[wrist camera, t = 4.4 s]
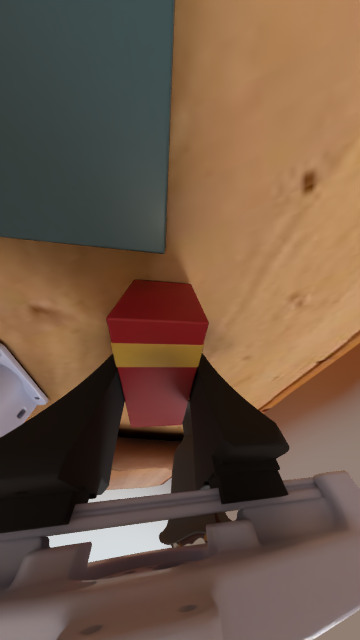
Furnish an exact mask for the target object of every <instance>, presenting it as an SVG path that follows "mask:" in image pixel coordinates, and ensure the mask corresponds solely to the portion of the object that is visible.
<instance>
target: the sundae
mask: <svg viewBox="0 0 360 640" xmlns="http://www.w3.org/2000/svg"><path fill="white" fill-rule="evenodd" d="M182 424H183V430H184V438H183V440H182V442H181V443H180V444H179V446H178V447H177V449H176V451H175V453H174V459H173V468H172V485H171V493H179V492H188V491H196V482H195V466H194V449H193V435H192V423H191V411H190V401H188V403H187V407H186V411H185V415H184V419H183V422H182ZM228 521H232V520H230V519H229V518H228V517H227V515H226V513H225V512H219V513H212V514H205V515H198V516H190V517H183V518H176V519H169V520H168V524H167V526H166V528H165V529H164V531H163V532H161V533H160V535H159V539H160V542H162V543H164V544H167V545H171V546H172V548H174V547H182V546H189V545H197V544H204V543H208V541H207V533H206V526H207V525H208V524H215V523H221V522H228Z"/></svg>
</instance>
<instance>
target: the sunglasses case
mask: <svg viewBox="0 0 360 640" xmlns="http://www.w3.org/2000/svg"><path fill="white" fill-rule="evenodd" d="M181 442H182V441H173V442H170V441H164V440H146V439H140V438H122V437H117V441H116V447H115V452H114V457H113V463H112V469H111V470H115V471H130V470H133V469H147V468H167V469H172V468H173V459H174V453H175V451H176V449H177V447H178V446H179V444H180V443H181Z"/></svg>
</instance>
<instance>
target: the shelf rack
mask: <svg viewBox="0 0 360 640" xmlns="http://www.w3.org/2000/svg"><path fill="white" fill-rule="evenodd" d="M174 12H175V0H0V237H7V238H16V239H26V240H35V241H45V242H54V243H64V244H74V245H83V246H93V247H102V248H112V249H121V250H131V251H141V252H150V253H160V254H164V253H165V248H166V225H167V192H168V167H169V141H170V115H171V89H172V64H173V38H174Z"/></svg>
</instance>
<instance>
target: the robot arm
mask: <svg viewBox="0 0 360 640" xmlns="http://www.w3.org/2000/svg"><path fill="white" fill-rule="evenodd" d="M48 401H49V400H48V398H47V397H46V396H45V395H44V393H43V392H42V391H41V390H40V389H39V387H38V386H37V385H36V384H35V382H34V381H33V380H32V379H31V378H30V376H29V375H28V374H27V373H26V371H25V370H24V369H23V368H22V367H21V365H20V364H19V363H18V362H17V360H16V359H15V358H14V357H13V356H12V354H11V353H10V352H9V351H8V349H7V348H6V347H5V346H4V345H3V344H1V343H0V640H313V639H315V638H317V637H318V636H320V635H321V634H323V633H324V632H326V631H328V630H329V629H331V628H332V627H334V626H335V625H337V624H338V623H340V622H341V621H343V620H345V619H346V618H348V617H349V616H351V615H352V614H354V613H355V612H357V611H359V610H360V489H359V487H358V486H357V485H356V483H355V482H354V481H353V479H352V478H351V477H350V475H349V474H348V473H347V472H346V471H336V472H327V473H322V474H318V475H315V476H313V477H311V478H301V479H294V480H285V481H282V479H281V477H280V474H279V472H278V470H279V469H280V467H279V465H278V463H277V461H276V458H278V457H279V456H281V455H283V454H285V453H286V452H288V450H289V445H288V443H287V442H286V440H285V438H284V436H283V435H282V433H281V431H280V429H279V428H278V426H277V425H276V423H275V422H273V421H272V420H271V419H269V418H268V417H267V416H265V415H264V414H263V413H261V412H260V411H259V410H257V409H256V408H255V407H254V406H252V405H251V404H250V403H249V402H248V401H246V400H245V399H244V398H243V397H242V396H241V395H239V394H238V393H237V392H236V391H235V390H234V389H233V388H232V387H231V386H230V385H229V384H228V383H227V382H226V381H225V380H224V379H223V378H222V377H221V376H220V375H219V374H218V373H217V371H216V370H215V369H214V368H213V367H212V365H211V364H210V363H209V362H208V360H207V359H206V357H205V356H204V355H203V353H202V354H201V358H200V362H199V365H198V367H197V370H196V373H195V377H194V381H193V385H192V388H191V392H190V396H189V401H190V411H191V423H192V435H193V449H194V466H195V482H196V491H188V492H179V493H170V494H162V495H154V496H144V497H135V498H127V499H118V500H109V501H100V502H92V503H88V500H89V499H93V498H96V496H97V495H101V494H102V493H103V492H104V491H105V490H106V489H107V487H108V486H109V481H110V475H111V469H112V463H113V457H114V452H115V447H116V441H117V436H118V431H119V426H120V421H121V416H122V411H123V407H124V402H125V398H124V394H123V389H122V385H121V381H120V376H119V372H118V368H117V367H116V364H115V360H114V355H113V354H112V355H111V356H110V357H109V358H108V359H107V360H106V361H105V362H104V363H103V364H102V365H101V366H100V367H99V368H98V369H97V370H95V371H94V372H93V373H92V374H91V375H90V376H89V377H87V378H86V379H85V380H84V381H83V382H82V383H80V384H79V385H78V386H76V387H75V388H74V389H73V390H71V391H70V392H69V393H67V394H66V395H65V396H63V397H62V398H61V399H59V400H58V401H56V402H55V403H53V404H52V405H51V406H49V407H48V408H46V409H45V410H43V411H42V412H40V413H39V414H37V415H36V416H34V417H33V418H31V419H30V420H28V421H26V422H25V420H26V419H27V418H28V417H29V415H30V414H31V413H32V411H33V410H34V409H35V407H36V406H37V405H45V404H46V403H47V402H48ZM24 422H25V423H24ZM234 510H239V511H238V513H237V519H236V520H235V521H228V522H221V523H215V524H208V525H207V526H206V533H207V541H208V543H204V544H197V545H189V546H182V547H174V548H167V549H161V550H155V551H148V552H142V553H137V554H131V555H126V556H121V557H116V558H110V559H105V560H100V561H95V562H90V563H88V559H89V555H90V551H91V546H92V543H91V542H86V543H79V544H72V545H65V546H60V547H54V548H50V547H49V538H48V537H46V536H53V535H60V534H67V533H75V532H82V531H89V530H96V529H103V528H110V527H118V526H125V525H132V524H139V523H147V522H154V521H161V520H169V519H176V518H183V517H190V516H198V515H205V514H212V513H219V512H227V511H234Z"/></svg>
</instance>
